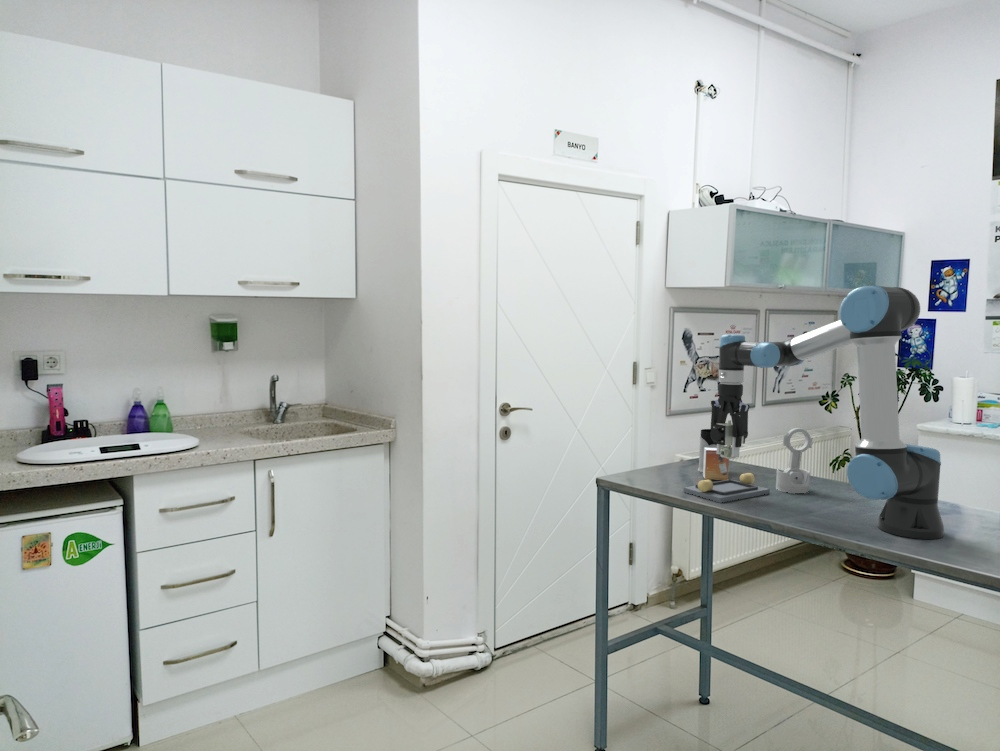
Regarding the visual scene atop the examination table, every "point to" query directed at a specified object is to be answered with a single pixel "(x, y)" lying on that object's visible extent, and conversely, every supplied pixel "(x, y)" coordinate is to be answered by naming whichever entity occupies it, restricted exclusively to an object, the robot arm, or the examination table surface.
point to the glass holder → (705, 442)
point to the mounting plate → (727, 489)
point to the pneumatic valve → (724, 438)
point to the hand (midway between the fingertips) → (727, 455)
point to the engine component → (794, 466)
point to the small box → (715, 465)
